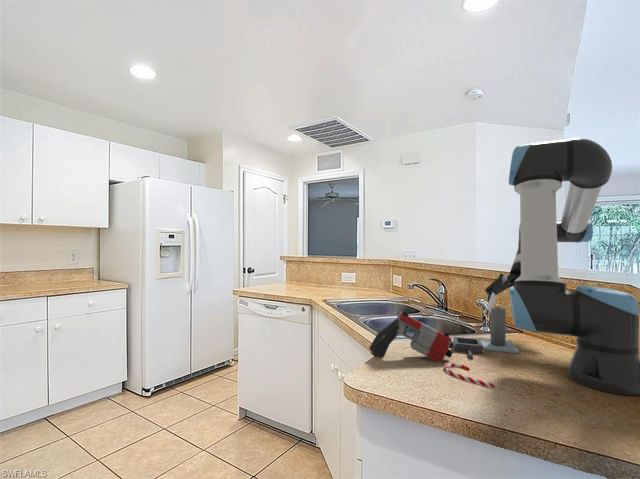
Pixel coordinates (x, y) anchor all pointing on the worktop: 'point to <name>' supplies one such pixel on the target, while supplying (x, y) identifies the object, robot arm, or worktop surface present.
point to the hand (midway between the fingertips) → (509, 311)
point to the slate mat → (507, 348)
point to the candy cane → (483, 383)
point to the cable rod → (498, 325)
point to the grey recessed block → (468, 345)
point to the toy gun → (414, 338)
